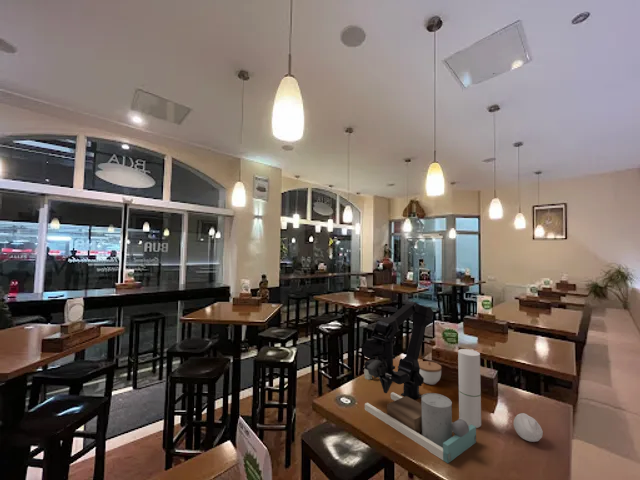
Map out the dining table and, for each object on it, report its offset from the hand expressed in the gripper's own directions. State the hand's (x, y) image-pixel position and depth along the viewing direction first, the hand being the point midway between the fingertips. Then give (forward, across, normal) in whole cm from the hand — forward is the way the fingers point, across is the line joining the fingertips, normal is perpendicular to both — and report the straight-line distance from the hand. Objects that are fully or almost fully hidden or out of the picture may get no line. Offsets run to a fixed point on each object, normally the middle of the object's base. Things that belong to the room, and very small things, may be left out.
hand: (385, 392), depth 114 cm
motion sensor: (+6, +40, +24) cm, 47 cm away
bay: (+6, +15, 0) cm, 16 cm away
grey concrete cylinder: (+6, +22, 0) cm, 23 cm away
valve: (+6, -20, +16) cm, 26 cm away
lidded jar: (+6, -4, +35) cm, 36 cm away
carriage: (+6, +11, 0) cm, 13 cm away
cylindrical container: (+6, +24, +18) cm, 31 cm away
